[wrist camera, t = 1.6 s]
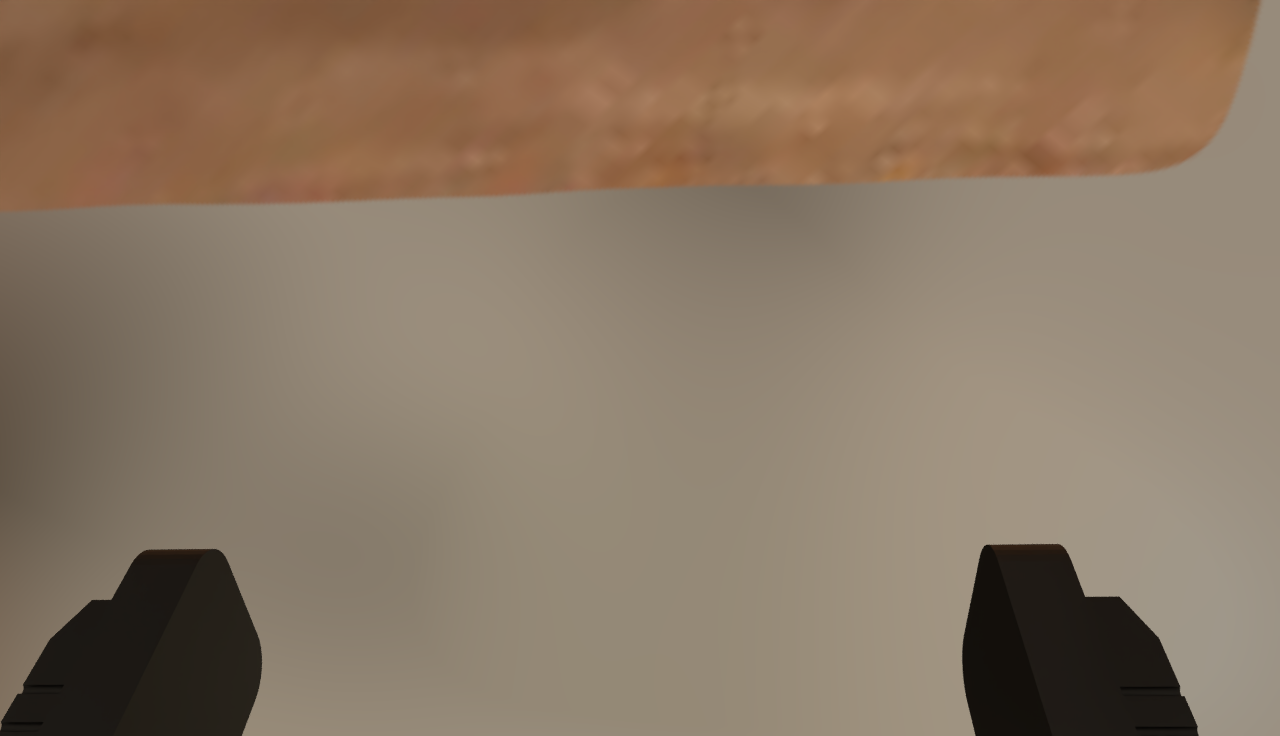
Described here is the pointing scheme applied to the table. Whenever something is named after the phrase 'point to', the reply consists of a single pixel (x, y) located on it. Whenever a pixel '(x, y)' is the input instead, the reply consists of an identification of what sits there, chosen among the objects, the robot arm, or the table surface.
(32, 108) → the table surface
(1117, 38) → the table surface
